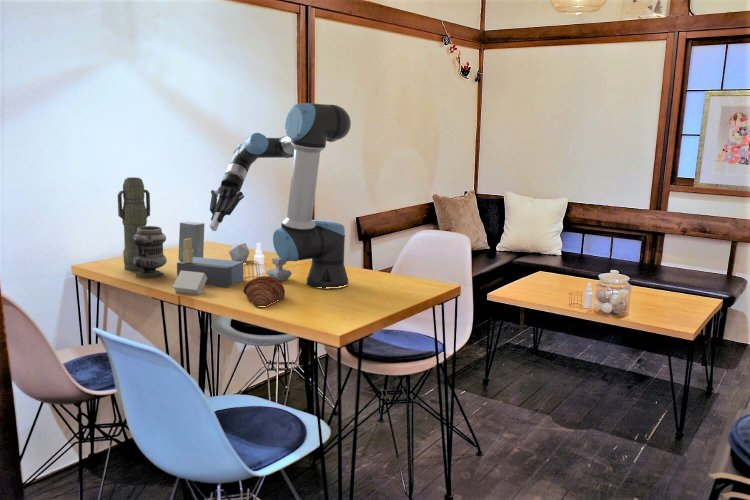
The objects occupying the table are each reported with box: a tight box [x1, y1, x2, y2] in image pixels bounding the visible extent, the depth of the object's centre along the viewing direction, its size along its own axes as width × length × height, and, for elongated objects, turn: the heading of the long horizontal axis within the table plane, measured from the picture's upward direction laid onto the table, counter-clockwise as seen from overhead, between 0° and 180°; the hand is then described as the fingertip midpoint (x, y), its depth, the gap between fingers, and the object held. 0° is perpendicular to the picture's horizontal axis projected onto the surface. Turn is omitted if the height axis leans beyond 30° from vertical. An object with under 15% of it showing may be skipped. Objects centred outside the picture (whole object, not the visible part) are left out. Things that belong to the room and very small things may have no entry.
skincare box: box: [178, 220, 205, 262], centre depth 274 cm, size 8×7×16 cm
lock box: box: [176, 257, 244, 289], centre depth 240 cm, size 20×12×7 cm, turn 74°
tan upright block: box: [183, 238, 194, 263], centre depth 237 cm, size 2×5×8 cm, turn 164°
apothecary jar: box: [132, 225, 168, 279], centre depth 245 cm, size 12×12×18 cm
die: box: [228, 242, 250, 262], centre depth 275 cm, size 8×9×10 cm
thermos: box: [117, 176, 151, 272], centre depth 254 cm, size 9×12×35 cm
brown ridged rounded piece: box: [243, 275, 286, 307], centre depth 218 cm, size 17×15×8 cm
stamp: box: [266, 256, 292, 282], centre depth 245 cm, size 9×7×8 cm
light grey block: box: [172, 270, 207, 296], centre depth 225 cm, size 9×7×5 cm
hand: (212, 228), depth 236 cm, fingers closed
